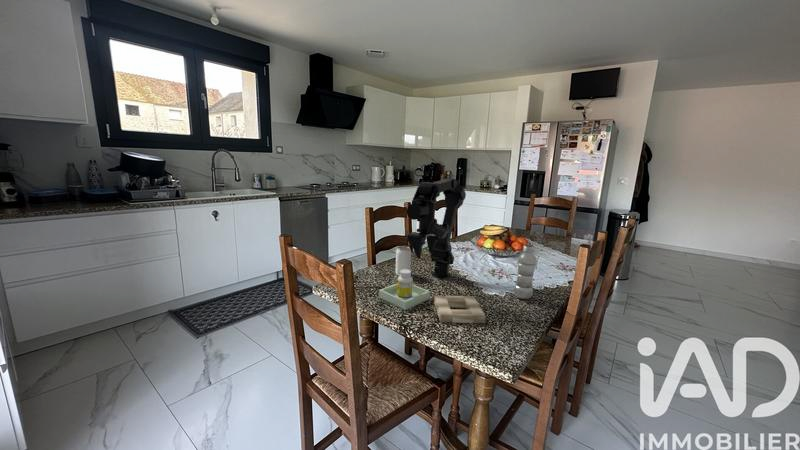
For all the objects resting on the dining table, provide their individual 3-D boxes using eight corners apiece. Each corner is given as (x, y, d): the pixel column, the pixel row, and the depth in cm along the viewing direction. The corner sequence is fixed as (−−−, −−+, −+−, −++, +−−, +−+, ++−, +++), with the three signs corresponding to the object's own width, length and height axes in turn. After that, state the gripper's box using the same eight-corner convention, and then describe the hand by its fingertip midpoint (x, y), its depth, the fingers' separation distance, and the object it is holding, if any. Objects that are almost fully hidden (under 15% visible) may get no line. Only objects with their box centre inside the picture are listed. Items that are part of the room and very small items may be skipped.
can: (408, 277, 133) (409, 250, 130) (393, 276, 134) (394, 249, 132) (411, 272, 139) (412, 246, 137) (397, 271, 140) (398, 245, 138)
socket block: (434, 302, 111) (434, 295, 111) (473, 302, 112) (473, 296, 111) (440, 322, 97) (440, 314, 97) (484, 323, 98) (485, 315, 97)
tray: (403, 288, 122) (403, 280, 122) (429, 299, 113) (430, 291, 113) (378, 297, 113) (379, 289, 112) (404, 310, 104) (405, 302, 104)
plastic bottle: (509, 295, 119) (515, 244, 115) (522, 292, 122) (529, 243, 118) (521, 302, 113) (528, 249, 109) (535, 299, 116) (542, 247, 112)
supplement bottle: (399, 292, 116) (400, 267, 114) (413, 294, 115) (414, 269, 113) (395, 298, 111) (396, 272, 109) (410, 300, 110) (411, 274, 108)
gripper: (434, 222, 106) (431, 266, 109) (457, 215, 121) (454, 254, 124) (406, 218, 112) (404, 259, 115) (431, 212, 127) (429, 249, 130)
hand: (424, 255), depth 121 cm, fingers open, 9 cm apart
